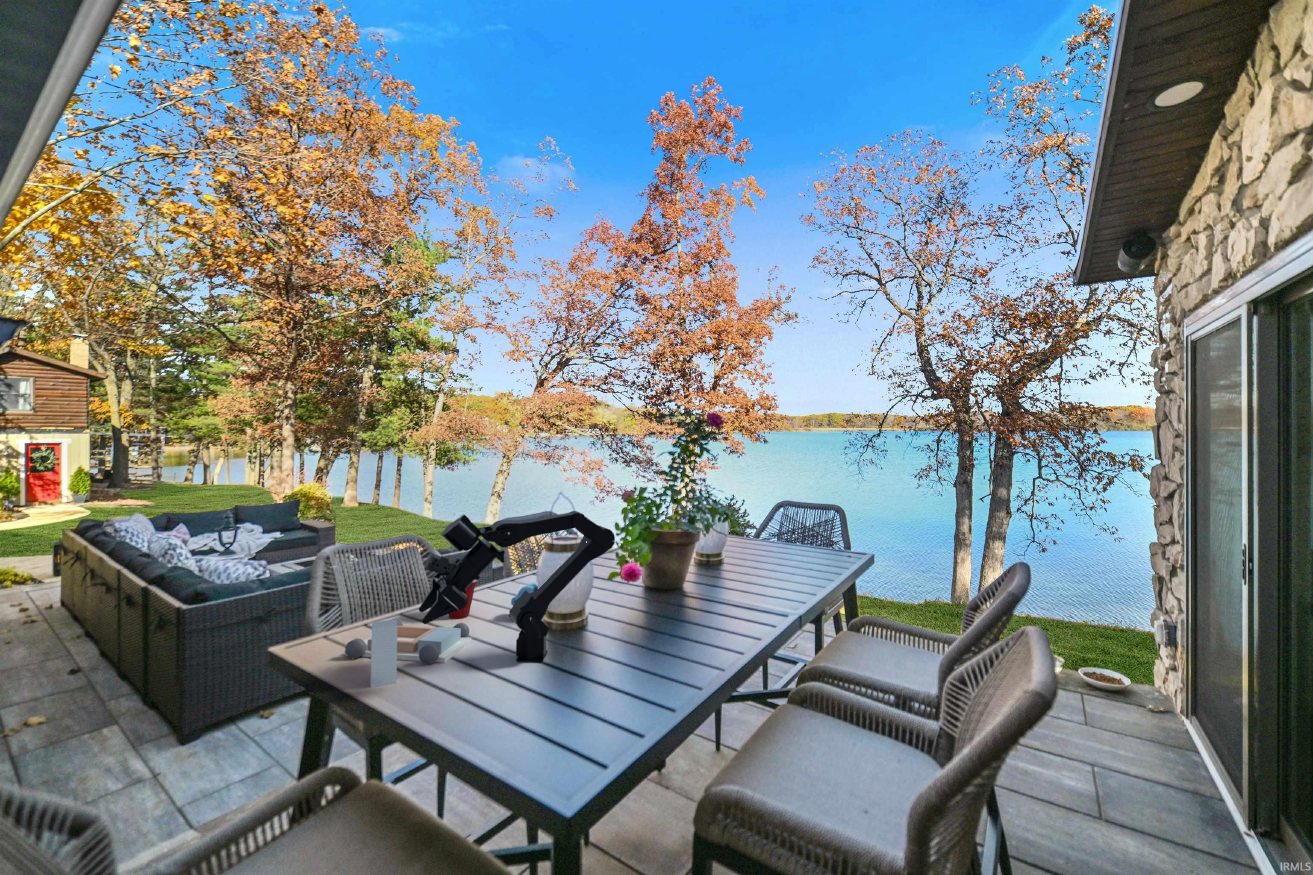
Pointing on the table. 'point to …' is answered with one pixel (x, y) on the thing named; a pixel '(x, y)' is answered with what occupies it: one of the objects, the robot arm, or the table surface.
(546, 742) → the table surface
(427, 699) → the table surface
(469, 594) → the plastic cup
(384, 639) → the blue-grey rectangular box
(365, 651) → the chassis
